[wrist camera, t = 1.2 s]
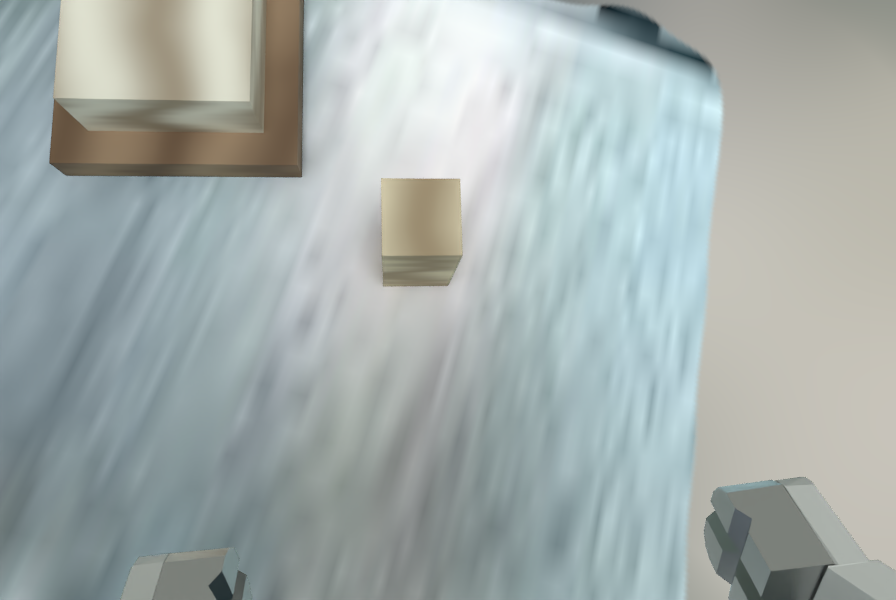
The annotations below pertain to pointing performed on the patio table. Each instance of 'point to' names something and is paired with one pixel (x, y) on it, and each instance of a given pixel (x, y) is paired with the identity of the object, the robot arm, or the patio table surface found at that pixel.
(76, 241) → the patio table surface
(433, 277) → the birch block
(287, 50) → the plinth
